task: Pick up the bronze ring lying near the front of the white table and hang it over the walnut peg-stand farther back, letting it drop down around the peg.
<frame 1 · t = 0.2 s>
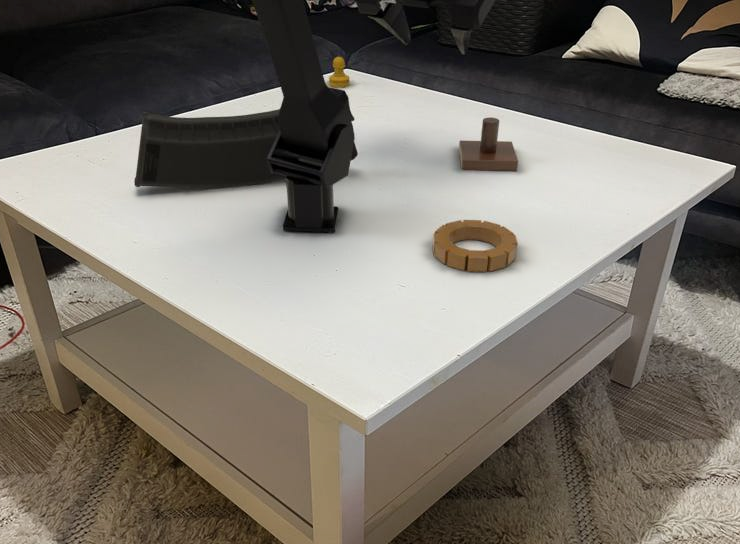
hand: (436, 47, 105), 15 cm above the table, tool tilted 30°, fingers open, 9 cm apart
post: (486, 160, 110), on the table
magazine: (249, 182, 103), on the table
ring: (473, 251, 86), on the table
chess piece: (339, 85, 140), on the table
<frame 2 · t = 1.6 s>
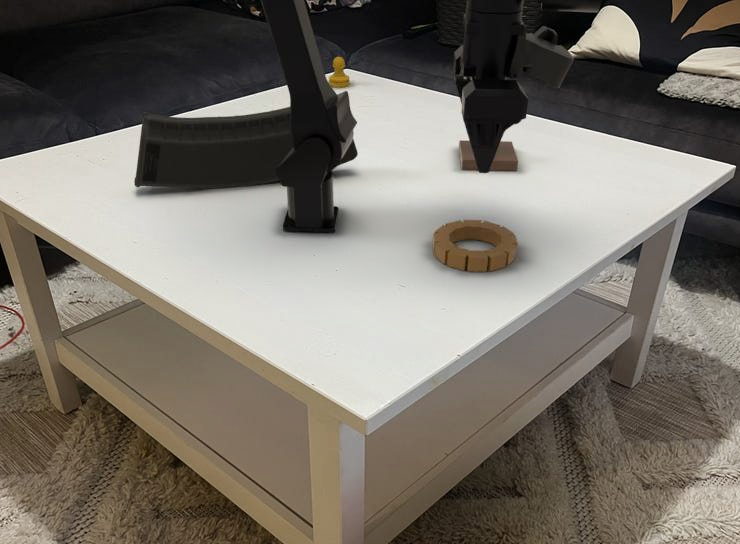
hand: (479, 156, 84), 10 cm above the table, tool pointing down, fingers open, 9 cm apart
nothing on the table moved.
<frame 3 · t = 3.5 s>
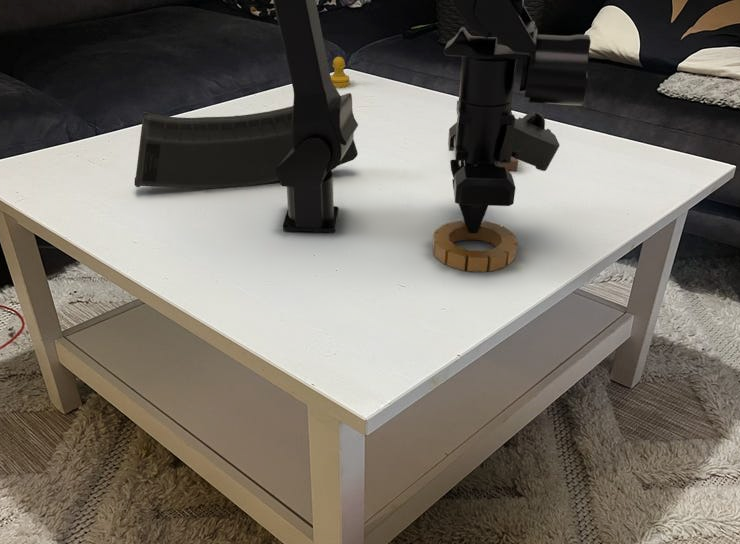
hand: (472, 228, 89), 1 cm above the table, tool pointing down, fingers closed on ring, 2 cm apart
ring: (473, 251, 86), on the table, touching gripper
everything else where it was.
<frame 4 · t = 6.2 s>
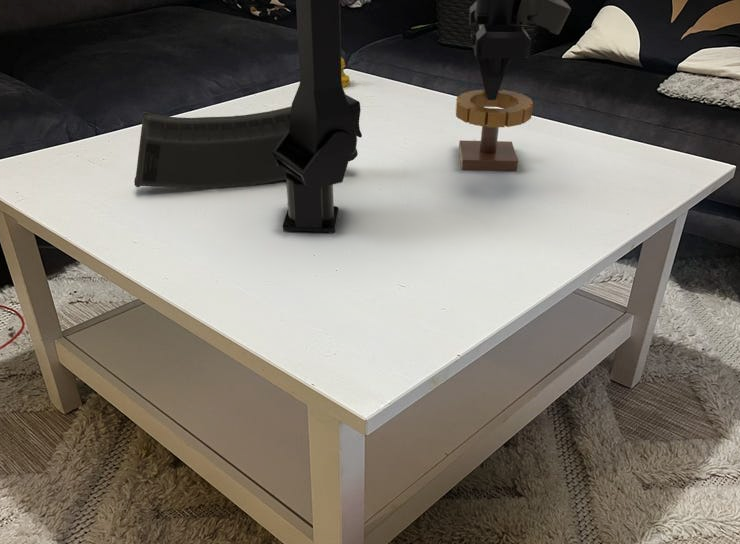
hand: (490, 97, 97), 11 cm above the table, tool pointing down, fingers closed on ring
ring: (492, 114, 95), point 10 cm above the table, touching gripper
everything else where it was.
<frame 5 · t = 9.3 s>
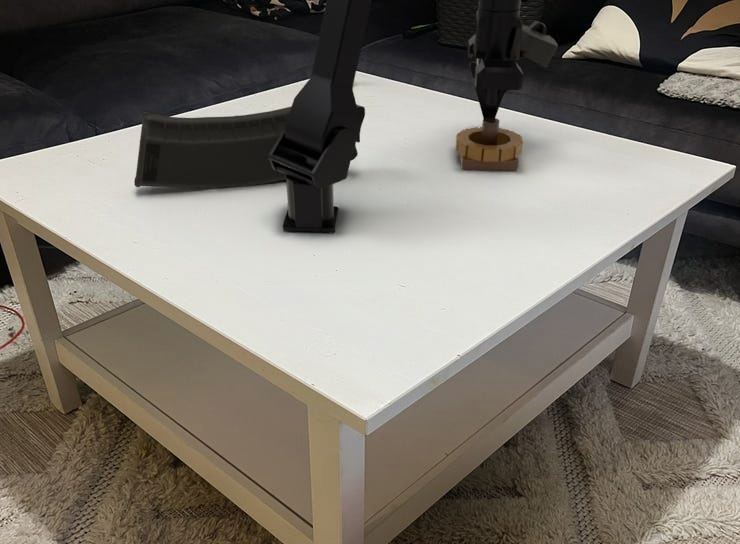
hand: (487, 120, 110), 5 cm above the table, tool pointing down, fingers open, 4 cm apart
ring: (488, 149, 109), point 1 cm above the table, touching post
everything else where it was.
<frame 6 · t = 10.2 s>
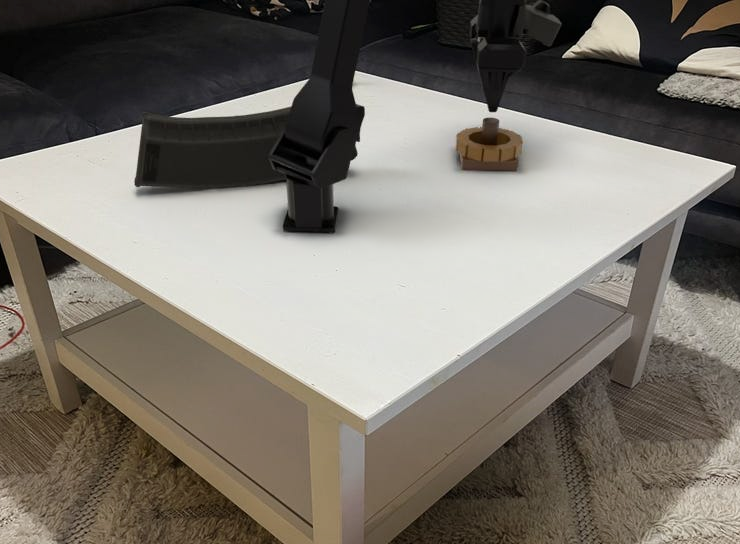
hand: (489, 101, 108), 7 cm above the table, tool pointing down, fingers open, 9 cm apart
nothing on the table moved.
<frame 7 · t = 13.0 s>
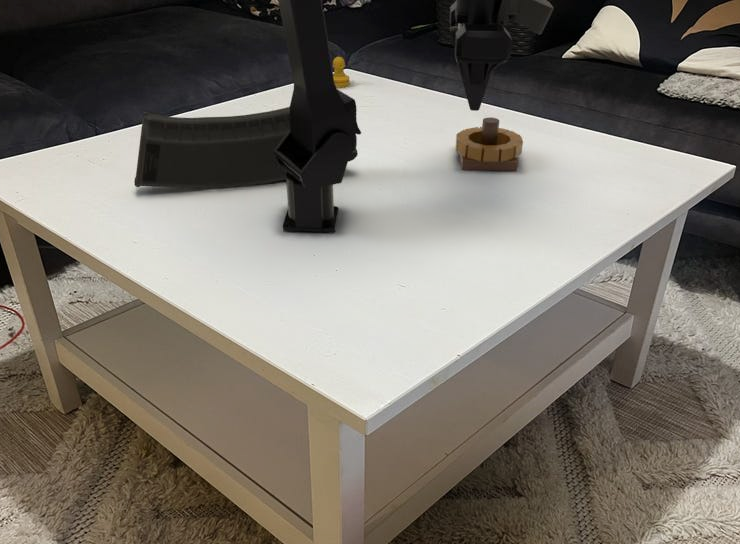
hand: (472, 98, 95), 12 cm above the table, tool pointing down, fingers open, 9 cm apart
nothing on the table moved.
at the end: ring 0.2 cm off-centre on the post, point 1.5 cm above the post's base; the gripper is holding nothing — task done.
